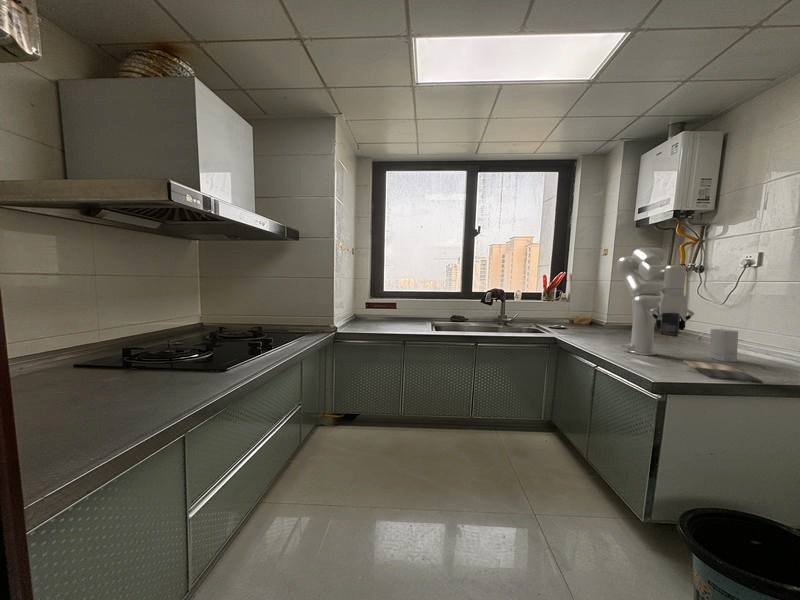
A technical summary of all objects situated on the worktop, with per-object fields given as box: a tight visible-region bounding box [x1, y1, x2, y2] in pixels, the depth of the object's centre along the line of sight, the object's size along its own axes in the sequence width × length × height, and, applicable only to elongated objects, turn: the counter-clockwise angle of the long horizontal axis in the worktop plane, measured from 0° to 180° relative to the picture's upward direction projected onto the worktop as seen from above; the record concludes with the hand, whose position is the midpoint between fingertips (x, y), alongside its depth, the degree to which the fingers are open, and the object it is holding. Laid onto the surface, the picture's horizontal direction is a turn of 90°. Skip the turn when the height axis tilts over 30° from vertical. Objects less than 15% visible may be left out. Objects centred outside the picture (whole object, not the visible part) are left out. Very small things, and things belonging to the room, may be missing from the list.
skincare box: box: [709, 328, 739, 363], centre depth 161 cm, size 8×7×16 cm
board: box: [682, 359, 763, 383], centre depth 141 cm, size 16×26×1 cm, turn 157°
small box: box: [659, 313, 681, 338], centre depth 150 cm, size 11×6×10 cm, turn 136°
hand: (669, 328), depth 150 cm, fingers closed on small box, 8 cm apart
